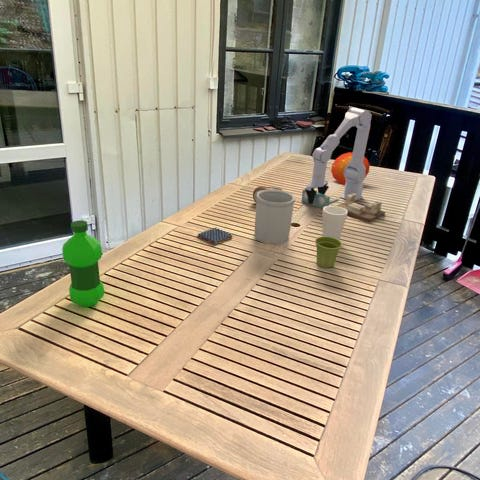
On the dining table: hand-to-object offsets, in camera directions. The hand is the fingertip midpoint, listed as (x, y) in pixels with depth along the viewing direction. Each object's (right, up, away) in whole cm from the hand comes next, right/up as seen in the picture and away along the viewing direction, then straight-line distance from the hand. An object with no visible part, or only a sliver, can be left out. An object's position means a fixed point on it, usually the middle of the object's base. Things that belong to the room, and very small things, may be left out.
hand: (315, 201), depth 211 cm
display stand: (+19, -6, -6) cm, 21 cm away
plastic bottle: (-80, -37, -82) cm, 120 cm away
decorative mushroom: (+24, +14, +36) cm, 46 cm away
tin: (-23, -2, -2) cm, 23 cm away
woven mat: (-46, -18, -38) cm, 62 cm away
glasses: (+3, 0, +3) cm, 4 cm away
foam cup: (0, -19, -35) cm, 40 cm away
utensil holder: (-23, -17, -35) cm, 45 cm away
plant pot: (-6, -27, -53) cm, 60 cm away
